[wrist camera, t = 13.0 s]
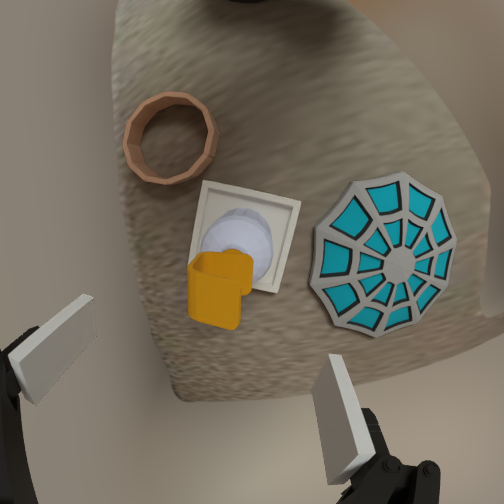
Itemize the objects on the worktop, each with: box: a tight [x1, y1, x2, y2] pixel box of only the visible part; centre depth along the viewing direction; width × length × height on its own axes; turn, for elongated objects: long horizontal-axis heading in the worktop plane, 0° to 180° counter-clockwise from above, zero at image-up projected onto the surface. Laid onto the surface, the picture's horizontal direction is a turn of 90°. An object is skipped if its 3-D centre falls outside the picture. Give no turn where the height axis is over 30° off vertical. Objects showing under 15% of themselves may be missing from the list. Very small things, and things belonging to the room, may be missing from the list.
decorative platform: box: [308, 171, 457, 338], centre depth 42 cm, size 31×29×5 cm
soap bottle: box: [187, 208, 274, 330], centre depth 31 cm, size 9×9×25 cm
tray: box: [188, 180, 301, 293], centre depth 43 cm, size 15×15×2 cm
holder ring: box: [122, 91, 220, 185], centre depth 38 cm, size 14×14×5 cm
